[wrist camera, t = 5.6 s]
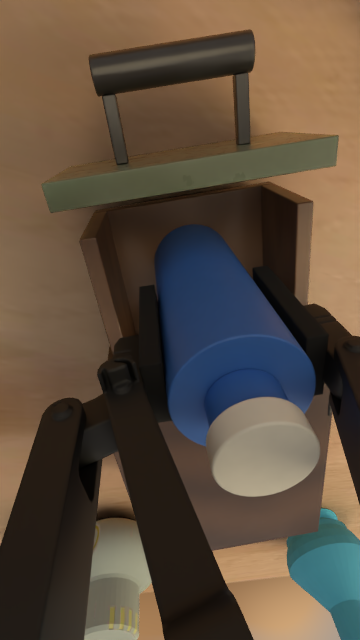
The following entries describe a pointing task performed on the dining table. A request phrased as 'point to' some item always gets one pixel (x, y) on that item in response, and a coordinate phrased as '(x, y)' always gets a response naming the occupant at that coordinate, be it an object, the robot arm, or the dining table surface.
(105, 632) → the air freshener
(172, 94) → the dining table surface
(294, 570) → the teal vase
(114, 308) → the drawer
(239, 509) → the cabinet
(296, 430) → the blue bottle
